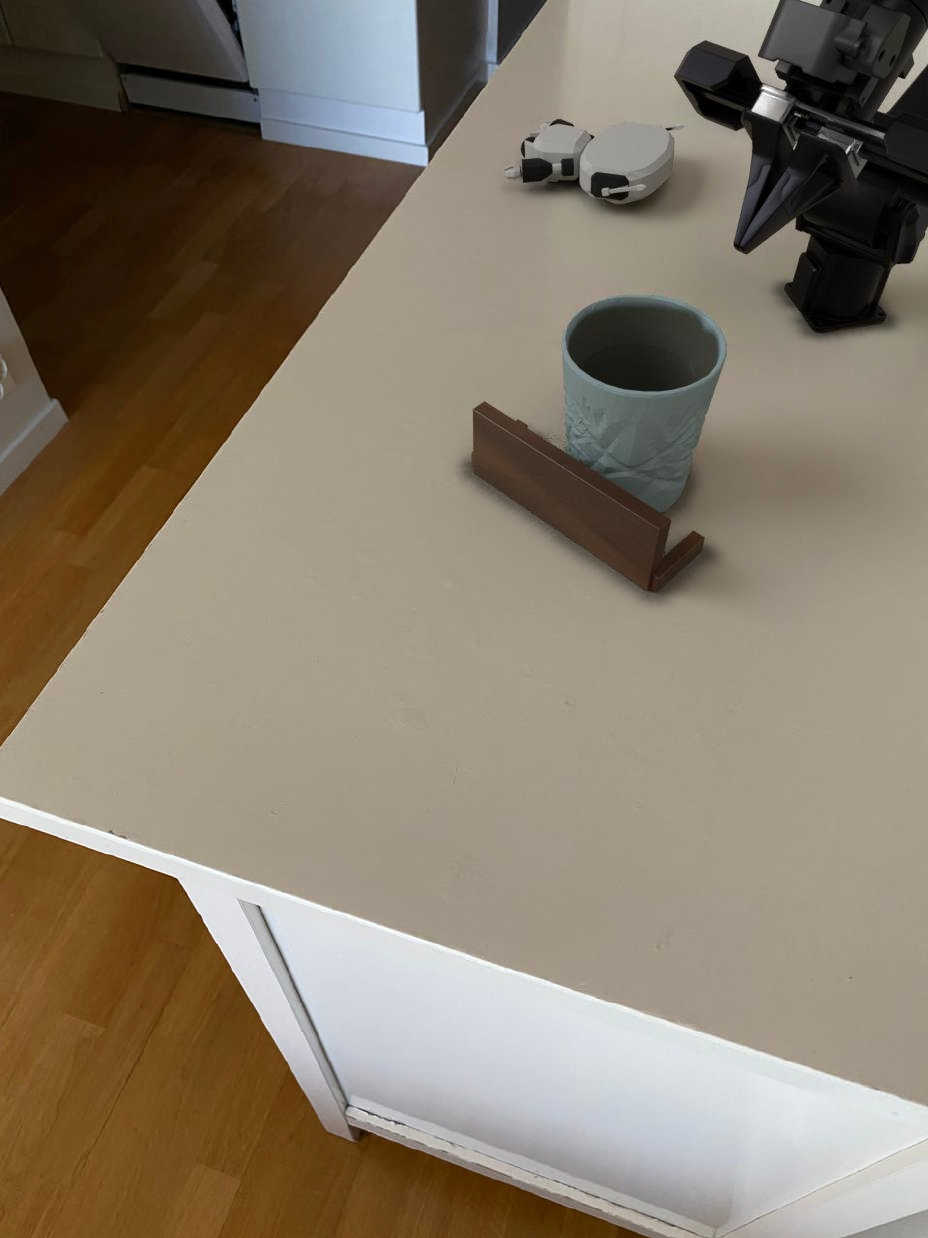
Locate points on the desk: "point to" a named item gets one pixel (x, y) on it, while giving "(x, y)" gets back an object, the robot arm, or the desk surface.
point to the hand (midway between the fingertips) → (739, 250)
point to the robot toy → (599, 158)
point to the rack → (577, 500)
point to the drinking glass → (640, 390)
